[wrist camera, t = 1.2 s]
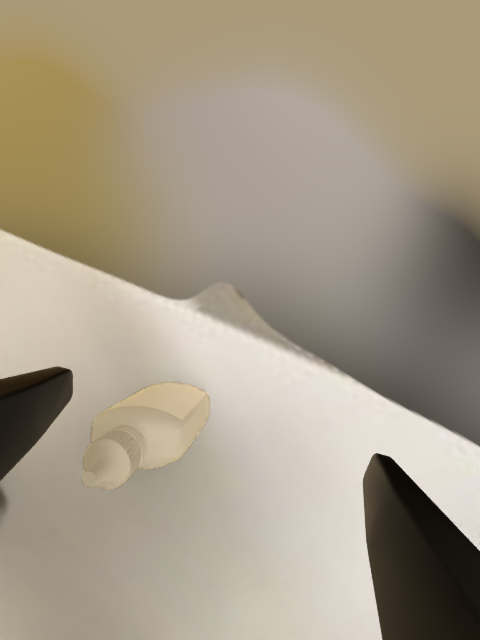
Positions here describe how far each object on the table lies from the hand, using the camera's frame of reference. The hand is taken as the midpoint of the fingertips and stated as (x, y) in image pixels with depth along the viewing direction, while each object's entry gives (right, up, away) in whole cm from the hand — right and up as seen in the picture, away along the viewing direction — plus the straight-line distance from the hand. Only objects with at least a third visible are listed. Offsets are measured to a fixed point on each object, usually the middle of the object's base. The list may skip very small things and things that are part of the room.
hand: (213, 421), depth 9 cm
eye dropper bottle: (-4, -4, +17) cm, 17 cm away
